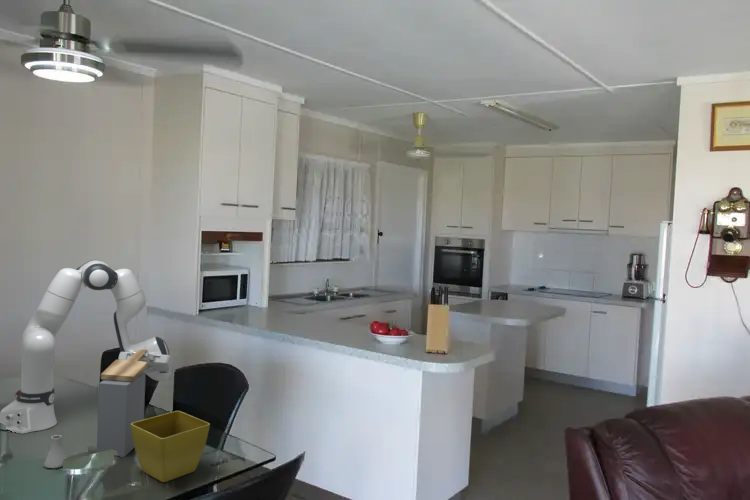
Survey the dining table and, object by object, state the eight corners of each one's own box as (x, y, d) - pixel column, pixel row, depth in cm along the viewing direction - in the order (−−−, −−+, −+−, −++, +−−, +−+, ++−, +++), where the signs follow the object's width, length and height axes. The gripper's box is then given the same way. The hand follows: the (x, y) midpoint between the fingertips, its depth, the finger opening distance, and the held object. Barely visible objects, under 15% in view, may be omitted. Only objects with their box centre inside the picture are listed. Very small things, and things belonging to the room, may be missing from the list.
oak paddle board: (101, 379, 215) (100, 374, 214) (128, 353, 236) (127, 348, 236) (134, 381, 215) (133, 376, 214) (158, 355, 236) (158, 350, 235)
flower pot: (127, 471, 203) (129, 422, 201) (176, 454, 218) (178, 409, 217) (160, 490, 191) (162, 439, 190) (209, 471, 206) (211, 423, 205)
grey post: (96, 454, 213) (98, 383, 211) (117, 437, 229) (119, 370, 227) (124, 457, 213) (126, 385, 211) (143, 439, 229) (145, 372, 227)
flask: (57, 471, 199) (58, 442, 199) (38, 468, 201) (39, 439, 200) (72, 462, 206) (73, 434, 206) (54, 459, 208) (54, 431, 207)
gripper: (127, 354, 246) (114, 344, 234) (177, 357, 246) (166, 348, 233) (123, 369, 243) (110, 360, 231) (173, 373, 243) (163, 364, 230)
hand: (139, 354), depth 232 cm, fingers closed on oak paddle board, 3 cm apart
